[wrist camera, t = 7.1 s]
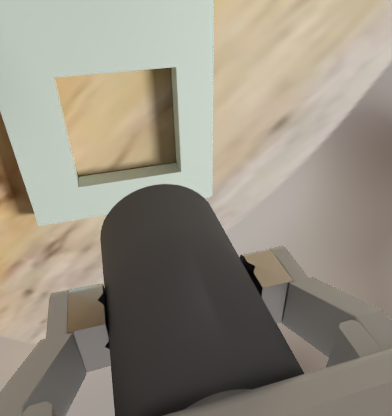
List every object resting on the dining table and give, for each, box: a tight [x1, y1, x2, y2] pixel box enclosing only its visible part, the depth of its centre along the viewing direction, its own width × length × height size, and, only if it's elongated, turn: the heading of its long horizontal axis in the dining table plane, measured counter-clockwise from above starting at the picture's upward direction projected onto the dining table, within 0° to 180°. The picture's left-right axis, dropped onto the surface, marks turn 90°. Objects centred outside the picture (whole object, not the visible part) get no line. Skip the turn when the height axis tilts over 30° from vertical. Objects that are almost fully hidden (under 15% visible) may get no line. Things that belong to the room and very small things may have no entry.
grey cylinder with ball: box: [101, 184, 304, 416], centre depth 11 cm, size 4×4×8 cm
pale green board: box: [0, 0, 214, 226], centre depth 21 cm, size 12×20×2 cm, turn 1°
